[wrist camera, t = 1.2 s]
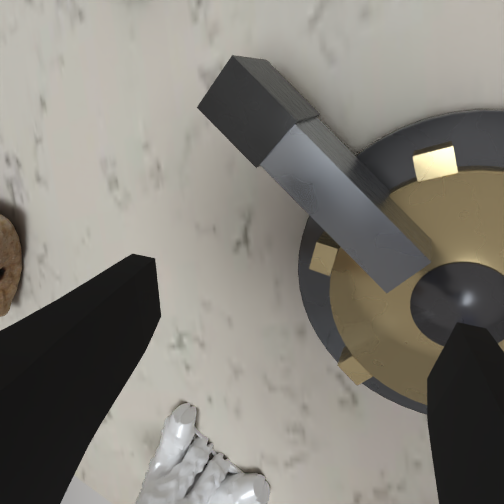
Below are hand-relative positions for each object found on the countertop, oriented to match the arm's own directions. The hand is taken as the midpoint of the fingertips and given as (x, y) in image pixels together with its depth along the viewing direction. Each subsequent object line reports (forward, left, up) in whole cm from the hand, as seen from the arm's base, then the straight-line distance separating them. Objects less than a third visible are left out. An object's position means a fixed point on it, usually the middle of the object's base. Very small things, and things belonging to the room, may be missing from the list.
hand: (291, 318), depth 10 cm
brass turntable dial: (0, -2, -10) cm, 10 cm away
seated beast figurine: (-25, -1, -12) cm, 27 cm away
